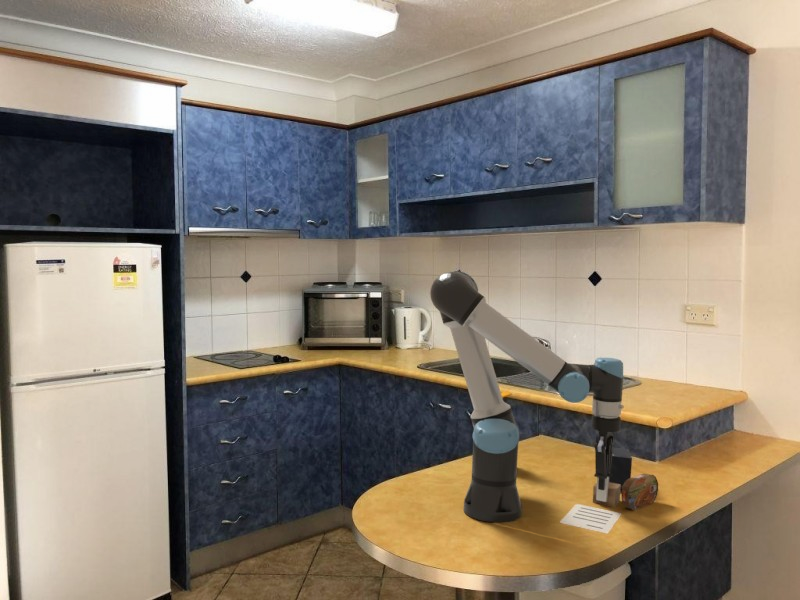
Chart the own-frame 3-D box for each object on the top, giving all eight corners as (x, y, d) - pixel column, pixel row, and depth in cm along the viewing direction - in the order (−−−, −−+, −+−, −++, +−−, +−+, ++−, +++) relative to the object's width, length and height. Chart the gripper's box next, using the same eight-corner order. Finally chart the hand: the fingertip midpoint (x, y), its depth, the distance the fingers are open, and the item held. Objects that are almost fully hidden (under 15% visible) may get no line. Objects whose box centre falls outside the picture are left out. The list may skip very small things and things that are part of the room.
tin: (628, 513, 177) (630, 482, 176) (618, 509, 179) (619, 479, 178) (658, 502, 186) (660, 472, 186) (648, 498, 188) (649, 469, 188)
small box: (631, 493, 193) (633, 457, 192) (607, 490, 194) (609, 455, 193) (626, 481, 203) (628, 447, 203) (604, 479, 204) (606, 446, 204)
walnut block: (592, 503, 183) (593, 485, 183) (598, 497, 188) (599, 480, 188) (614, 508, 180) (615, 490, 180) (619, 501, 185) (620, 484, 185)
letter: (559, 523, 168) (559, 522, 168) (576, 504, 182) (576, 503, 182) (607, 534, 162) (607, 533, 162) (621, 514, 176) (621, 513, 176)
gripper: (615, 421, 172) (610, 510, 174) (625, 412, 184) (620, 496, 185) (586, 417, 176) (581, 504, 177) (598, 408, 187) (593, 490, 189)
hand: (601, 500), depth 181 cm, fingers closed
